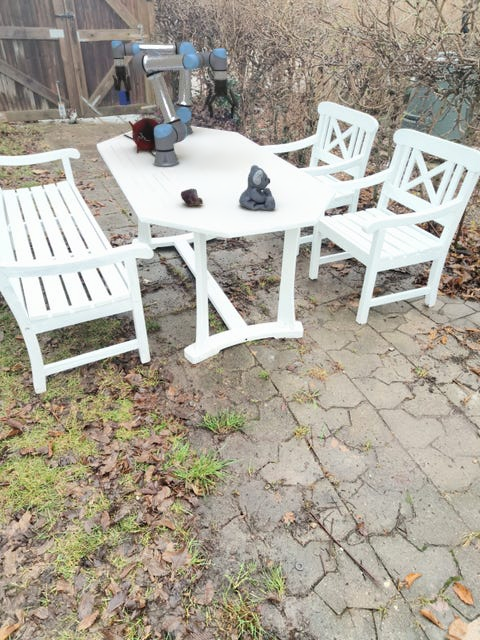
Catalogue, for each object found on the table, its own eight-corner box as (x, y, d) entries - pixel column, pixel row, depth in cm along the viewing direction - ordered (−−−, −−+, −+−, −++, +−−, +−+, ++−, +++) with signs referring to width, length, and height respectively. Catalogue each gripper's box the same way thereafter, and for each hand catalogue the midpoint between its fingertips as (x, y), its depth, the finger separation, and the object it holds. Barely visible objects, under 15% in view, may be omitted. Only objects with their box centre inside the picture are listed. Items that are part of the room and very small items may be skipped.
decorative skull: (132, 124, 330) (125, 120, 306) (163, 117, 329) (158, 113, 306) (140, 154, 337) (134, 153, 313) (170, 147, 336) (166, 145, 312)
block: (125, 105, 335) (123, 91, 330) (119, 105, 337) (117, 90, 331) (130, 103, 341) (129, 89, 336) (124, 103, 342) (122, 89, 337)
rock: (196, 202, 238) (178, 205, 233) (194, 185, 234) (176, 188, 230) (205, 205, 228) (187, 208, 224) (203, 188, 224) (185, 191, 220)
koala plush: (276, 211, 223) (277, 171, 212) (240, 212, 222) (240, 172, 211) (271, 199, 237) (272, 161, 226) (237, 200, 236) (237, 162, 225)
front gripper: (242, 79, 263) (242, 118, 275) (203, 77, 270) (205, 115, 282) (238, 80, 257) (239, 120, 269) (198, 79, 264) (200, 118, 276)
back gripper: (133, 65, 325) (138, 100, 338) (111, 64, 330) (116, 99, 343) (128, 66, 319) (133, 102, 332) (106, 65, 324) (111, 101, 337)
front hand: (221, 118), depth 276 cm, fingers open, 13 cm apart
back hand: (124, 100), depth 337 cm, fingers closed on block, 5 cm apart
